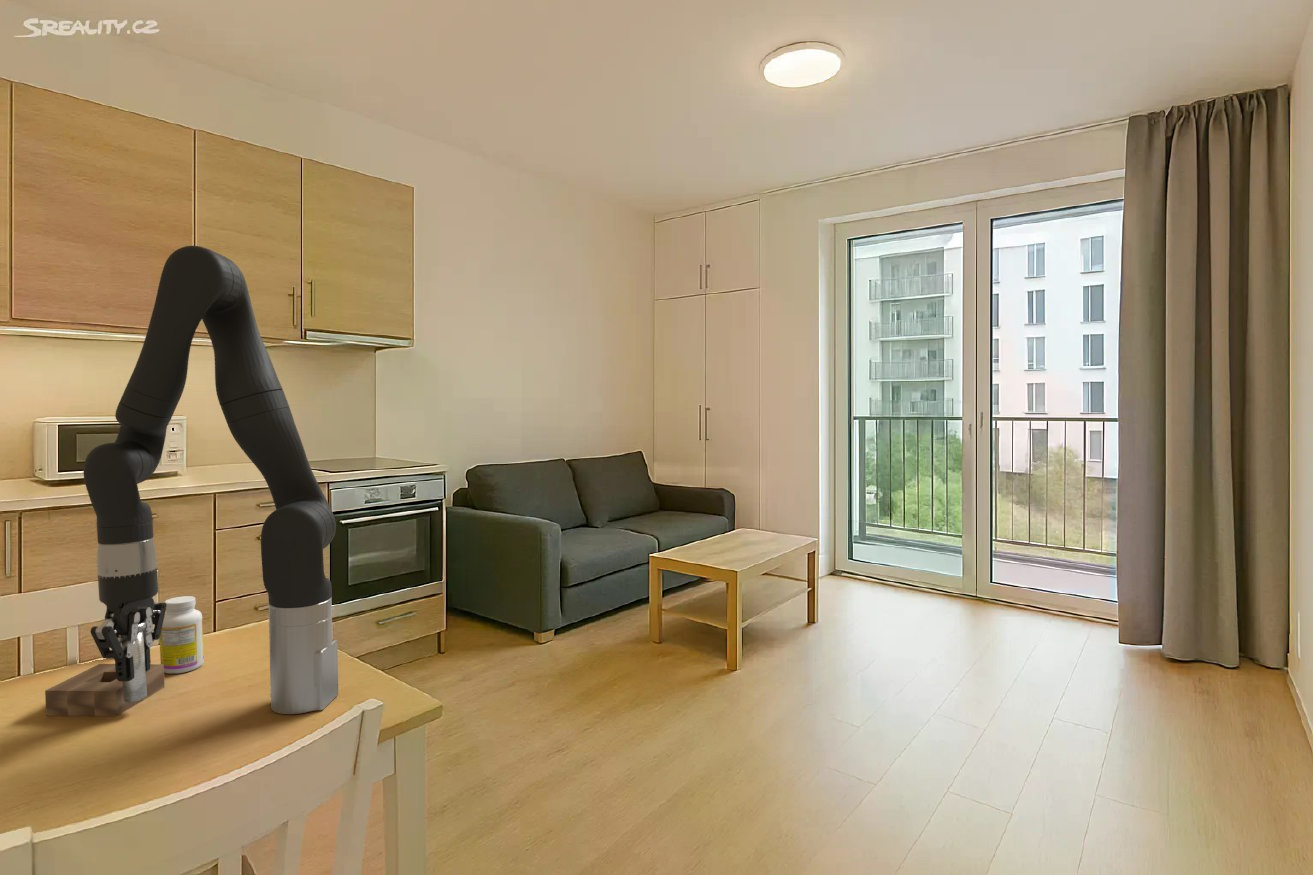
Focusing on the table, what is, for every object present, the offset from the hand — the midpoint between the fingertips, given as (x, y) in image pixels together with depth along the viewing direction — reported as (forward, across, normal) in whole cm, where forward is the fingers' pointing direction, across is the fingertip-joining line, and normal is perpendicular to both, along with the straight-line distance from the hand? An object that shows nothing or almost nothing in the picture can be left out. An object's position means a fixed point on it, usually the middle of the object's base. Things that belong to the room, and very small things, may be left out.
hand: (134, 675), depth 113 cm
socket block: (+6, +4, +8) cm, 10 cm away
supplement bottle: (+6, +18, +4) cm, 20 cm away
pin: (+4, 0, 0) cm, 4 cm away
